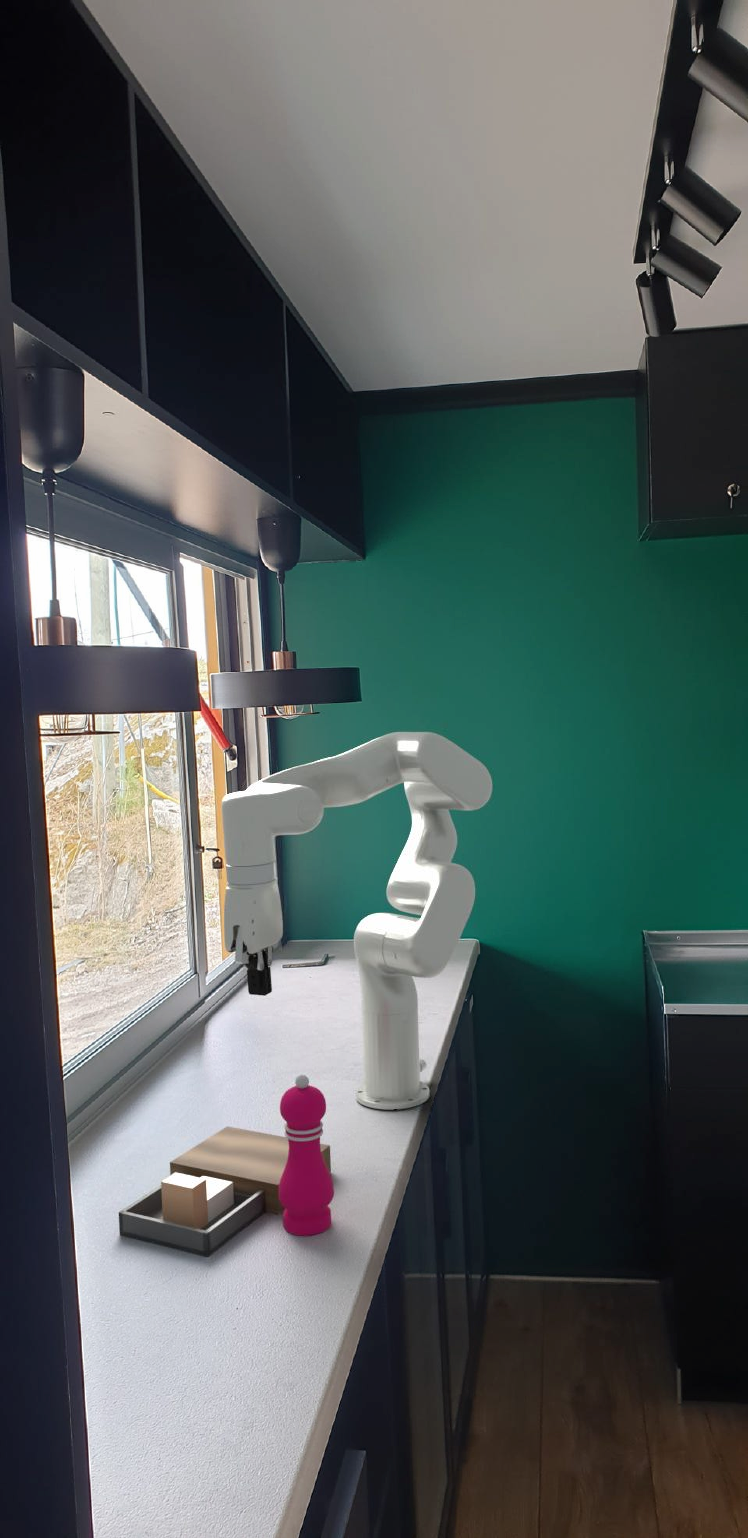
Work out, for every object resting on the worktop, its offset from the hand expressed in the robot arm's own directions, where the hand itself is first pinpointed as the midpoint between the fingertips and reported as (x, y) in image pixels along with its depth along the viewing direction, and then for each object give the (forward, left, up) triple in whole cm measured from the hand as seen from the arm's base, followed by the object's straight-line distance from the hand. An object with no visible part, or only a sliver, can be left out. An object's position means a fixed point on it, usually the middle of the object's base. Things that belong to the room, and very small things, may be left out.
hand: (260, 993), depth 168 cm
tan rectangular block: (+24, +4, -21) cm, 32 cm away
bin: (+24, +4, -24) cm, 34 cm away
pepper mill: (+18, +18, -25) cm, 36 cm away
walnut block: (+10, +4, -24) cm, 27 cm away
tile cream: (+21, +4, -24) cm, 32 cm away
